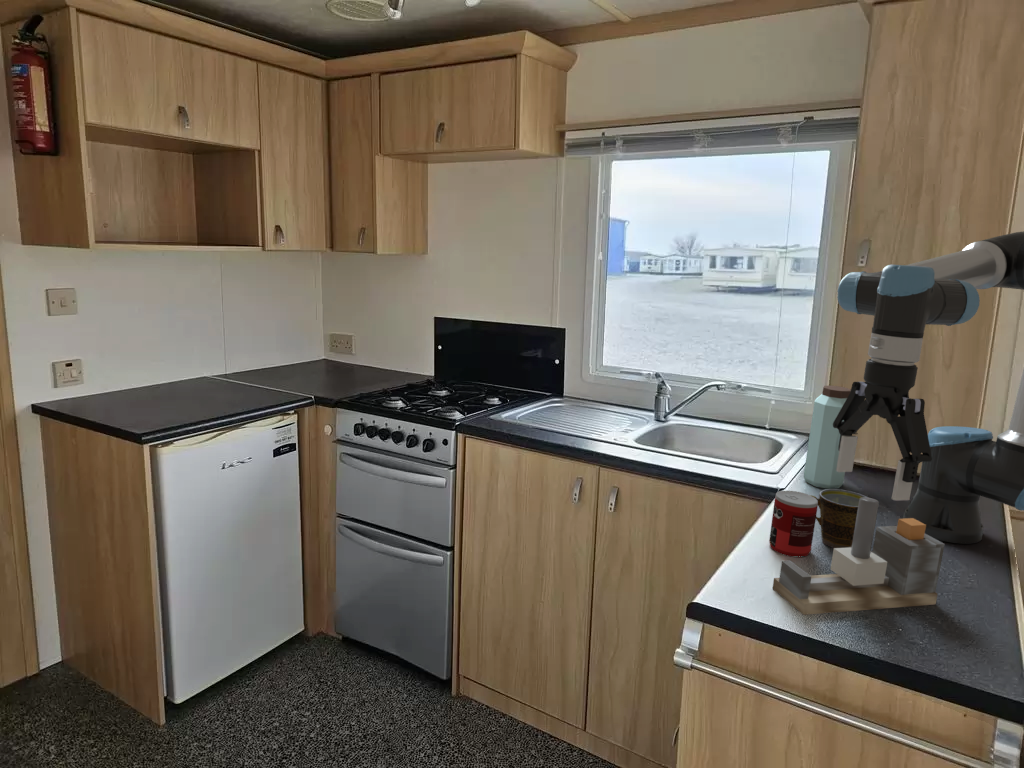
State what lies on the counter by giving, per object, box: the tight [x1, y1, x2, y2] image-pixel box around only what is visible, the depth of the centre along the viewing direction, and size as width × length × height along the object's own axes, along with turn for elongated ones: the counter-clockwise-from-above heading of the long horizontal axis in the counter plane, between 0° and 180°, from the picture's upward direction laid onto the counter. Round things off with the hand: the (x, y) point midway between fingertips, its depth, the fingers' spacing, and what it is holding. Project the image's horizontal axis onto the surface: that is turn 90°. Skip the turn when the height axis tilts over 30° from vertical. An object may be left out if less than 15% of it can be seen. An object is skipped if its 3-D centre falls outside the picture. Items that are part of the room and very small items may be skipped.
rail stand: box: [772, 525, 946, 616], centre depth 125 cm, size 26×9×11 cm, turn 103°
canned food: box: [768, 490, 819, 558], centre depth 143 cm, size 8×8×11 cm
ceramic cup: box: [809, 488, 867, 549], centre depth 148 cm, size 13×10×10 cm
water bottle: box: [803, 385, 851, 490], centre depth 182 cm, size 10×10×25 cm
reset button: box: [896, 518, 926, 540], centre depth 126 cm, size 3×3×3 cm
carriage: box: [830, 496, 887, 586], centre depth 124 cm, size 6×6×14 cm
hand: (870, 484), depth 122 cm, fingers open, 13 cm apart
